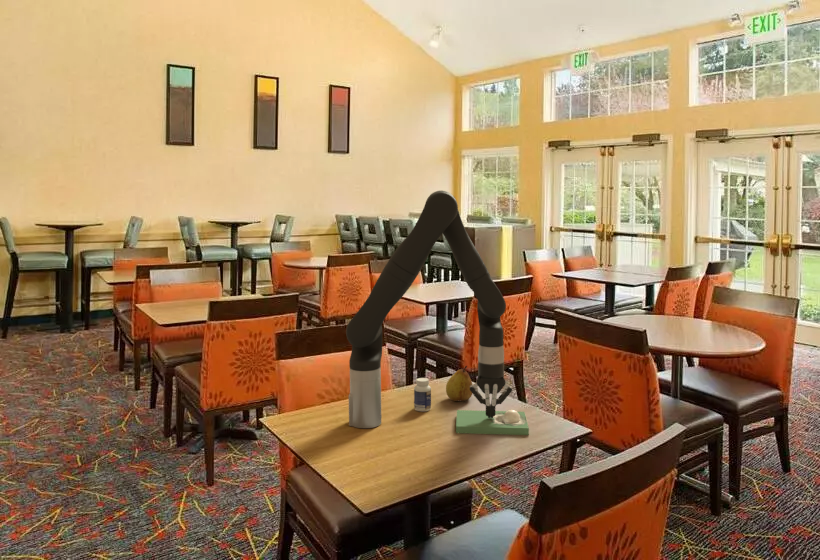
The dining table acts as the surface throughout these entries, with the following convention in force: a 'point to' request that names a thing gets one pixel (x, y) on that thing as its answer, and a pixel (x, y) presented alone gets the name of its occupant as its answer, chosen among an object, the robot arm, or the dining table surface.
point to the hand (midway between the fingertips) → (490, 417)
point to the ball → (511, 417)
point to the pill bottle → (422, 395)
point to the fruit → (459, 386)
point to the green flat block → (489, 423)
